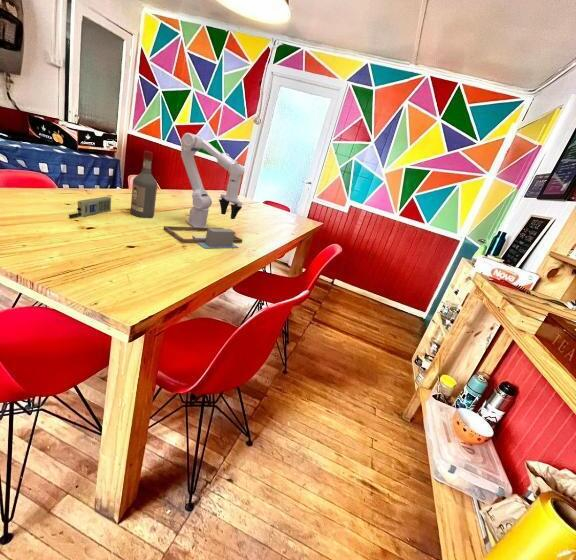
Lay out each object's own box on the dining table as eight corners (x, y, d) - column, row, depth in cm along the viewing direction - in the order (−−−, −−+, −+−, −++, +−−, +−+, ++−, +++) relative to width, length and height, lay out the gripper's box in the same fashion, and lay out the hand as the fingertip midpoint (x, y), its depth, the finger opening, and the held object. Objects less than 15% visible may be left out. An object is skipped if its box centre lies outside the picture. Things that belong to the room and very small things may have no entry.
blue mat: (197, 243, 140) (197, 242, 140) (231, 243, 153) (231, 242, 153) (204, 248, 136) (204, 247, 136) (238, 248, 149) (238, 247, 149)
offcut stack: (191, 237, 146) (191, 234, 146) (220, 239, 156) (221, 236, 156) (195, 241, 143) (195, 238, 143) (225, 242, 153) (225, 239, 153)
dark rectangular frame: (163, 229, 145) (163, 226, 145) (222, 231, 168) (222, 228, 168) (181, 243, 135) (182, 239, 134) (241, 242, 158) (242, 239, 158)
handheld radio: (112, 211, 151) (74, 220, 127) (105, 210, 151) (66, 218, 127) (112, 197, 148) (74, 203, 125) (105, 195, 148) (65, 201, 125)
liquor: (145, 212, 163) (151, 151, 152) (156, 218, 159) (163, 155, 148) (128, 212, 155) (133, 147, 145) (138, 218, 151) (145, 152, 141)
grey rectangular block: (204, 243, 141) (207, 228, 139) (227, 243, 150) (230, 229, 147) (209, 246, 139) (212, 231, 136) (232, 246, 147) (235, 232, 145)
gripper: (217, 184, 157) (212, 211, 162) (236, 192, 149) (230, 220, 154) (228, 186, 162) (223, 212, 167) (247, 194, 154) (241, 221, 159)
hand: (227, 216), depth 161 cm, fingers open, 7 cm apart
